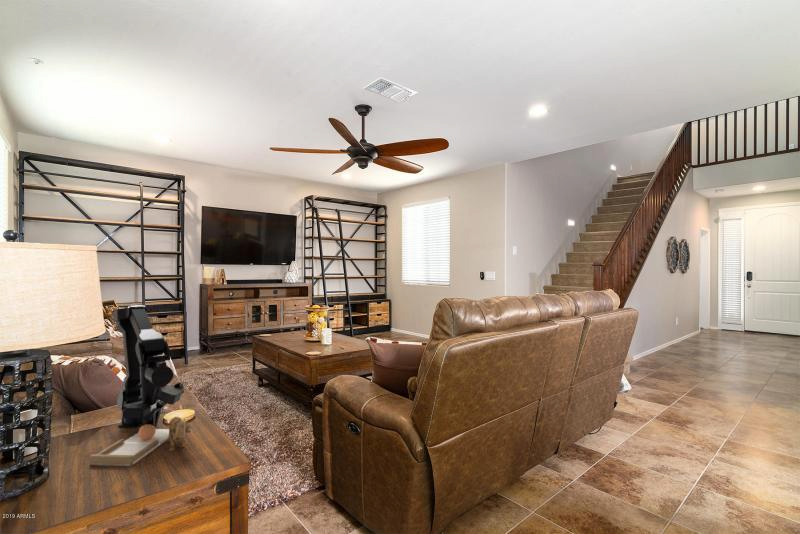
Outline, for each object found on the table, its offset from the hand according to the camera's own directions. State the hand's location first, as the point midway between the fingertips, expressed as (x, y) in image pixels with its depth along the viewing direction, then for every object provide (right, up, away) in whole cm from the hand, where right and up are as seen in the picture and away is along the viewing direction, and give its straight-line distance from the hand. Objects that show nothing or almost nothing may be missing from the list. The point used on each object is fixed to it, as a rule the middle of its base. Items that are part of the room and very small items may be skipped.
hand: (153, 428), depth 123 cm
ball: (0, 0, -3) cm, 3 cm away
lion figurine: (+10, -3, -4) cm, 11 cm away
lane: (-1, -3, -6) cm, 7 cm away
